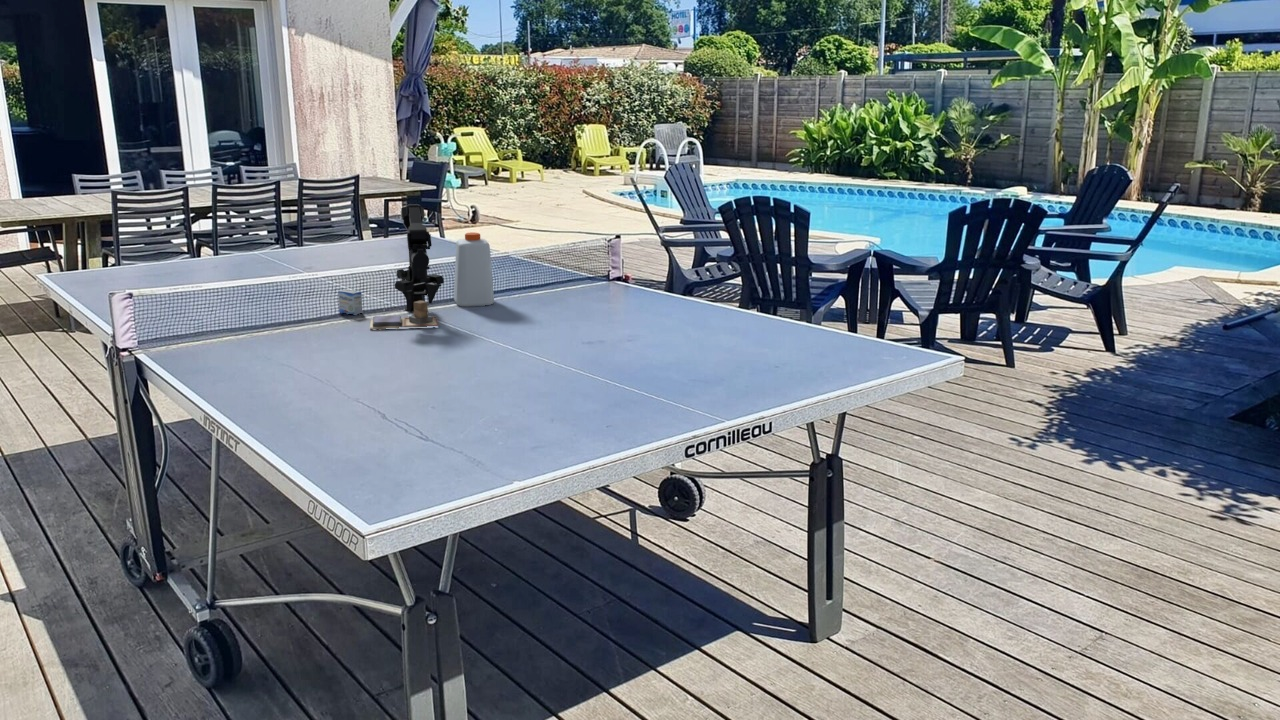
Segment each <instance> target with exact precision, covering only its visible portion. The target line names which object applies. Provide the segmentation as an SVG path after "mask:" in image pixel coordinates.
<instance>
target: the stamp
mask: <svg viewBox="0 0 1280 720" xmlns="http://www.w3.org/2000/svg"><path fill="white" fill-rule="evenodd" d="M413 303H414V312H413V315H411V316H409V322H411V323H415V324H419V325H422V324H426V323H430V322H433V317H434V316H432V315H429V314H428V313H429V311H428V309H429V308H428V301H426V300H425V301H416V302H413Z"/></svg>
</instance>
